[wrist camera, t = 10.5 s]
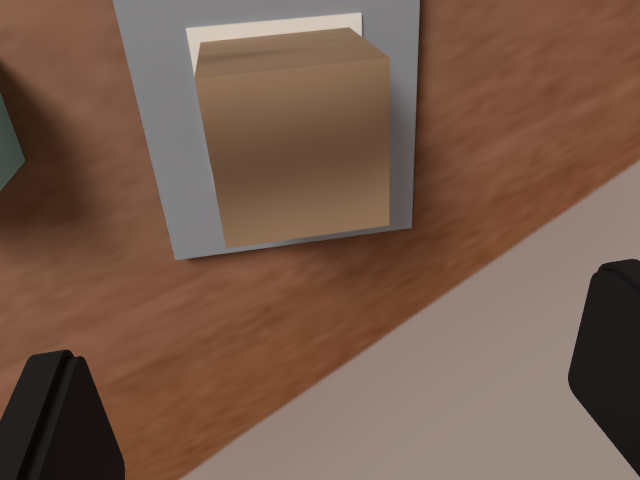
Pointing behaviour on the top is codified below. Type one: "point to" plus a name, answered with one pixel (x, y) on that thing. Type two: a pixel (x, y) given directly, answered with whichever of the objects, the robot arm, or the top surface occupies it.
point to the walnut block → (296, 134)
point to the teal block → (8, 148)
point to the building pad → (184, 112)
